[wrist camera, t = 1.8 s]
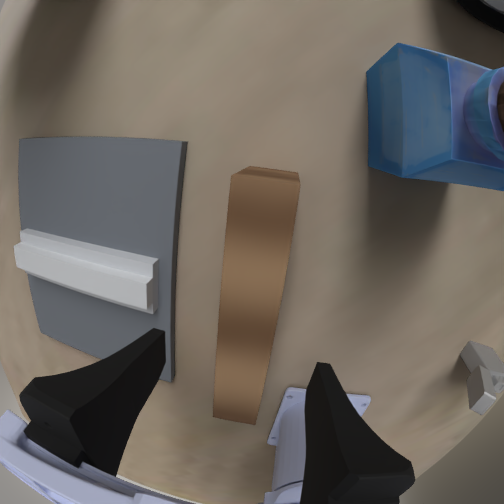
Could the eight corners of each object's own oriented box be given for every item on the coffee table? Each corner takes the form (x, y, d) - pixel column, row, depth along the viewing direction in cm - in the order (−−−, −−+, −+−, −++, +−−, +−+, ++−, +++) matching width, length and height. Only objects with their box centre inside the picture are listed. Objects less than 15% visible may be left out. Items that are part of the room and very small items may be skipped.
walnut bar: (264, 370, 24) (255, 424, 18) (228, 364, 24) (212, 416, 18) (297, 172, 18) (300, 185, 12) (250, 165, 18) (231, 175, 13)
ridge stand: (174, 375, 25) (163, 397, 22) (45, 327, 26) (30, 342, 24) (187, 141, 18) (169, 142, 15) (27, 138, 19) (3, 141, 16)
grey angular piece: (493, 348, 20) (529, 402, 13) (483, 361, 21) (515, 417, 13) (449, 333, 20) (488, 398, 13) (438, 349, 21) (472, 415, 13)
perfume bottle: (368, 166, 17) (473, 206, 6) (366, 71, 15) (457, -10, 4) (450, 174, 16) (581, 223, 5) (449, 87, 14) (577, 60, 3)
